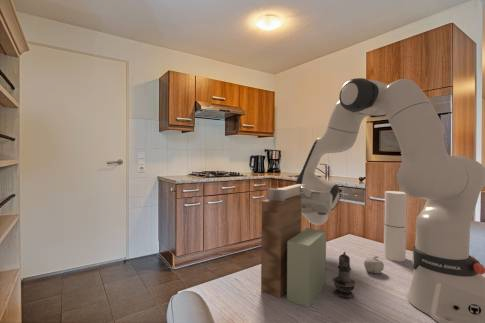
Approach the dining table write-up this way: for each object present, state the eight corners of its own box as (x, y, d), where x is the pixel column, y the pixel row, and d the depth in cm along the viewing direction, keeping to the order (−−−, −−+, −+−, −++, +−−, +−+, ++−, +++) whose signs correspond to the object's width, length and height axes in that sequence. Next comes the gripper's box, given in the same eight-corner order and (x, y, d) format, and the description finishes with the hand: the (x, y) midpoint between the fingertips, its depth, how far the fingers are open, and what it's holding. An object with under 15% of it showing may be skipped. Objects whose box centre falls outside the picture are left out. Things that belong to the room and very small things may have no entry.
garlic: (378, 268, 90) (378, 253, 90) (386, 275, 84) (387, 260, 84) (360, 268, 90) (361, 253, 90) (367, 275, 85) (368, 259, 85)
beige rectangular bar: (308, 192, 90) (308, 183, 90) (283, 201, 73) (283, 189, 73) (295, 191, 93) (295, 182, 93) (268, 199, 76) (268, 188, 76)
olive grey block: (325, 283, 79) (326, 231, 79) (308, 307, 67) (309, 245, 66) (306, 278, 83) (307, 228, 82) (286, 300, 70) (287, 241, 70)
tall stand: (300, 276, 84) (301, 195, 83) (280, 297, 71) (280, 203, 71) (283, 271, 87) (284, 194, 86) (261, 291, 75) (261, 200, 74)
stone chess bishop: (351, 289, 76) (352, 248, 76) (358, 300, 70) (359, 256, 70) (330, 287, 77) (331, 247, 76) (335, 298, 71) (336, 255, 70)
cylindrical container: (379, 255, 102) (380, 191, 101) (393, 253, 104) (394, 190, 103) (395, 262, 95) (396, 194, 94) (410, 260, 97) (411, 193, 96)
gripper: (284, 193, 104) (270, 178, 94) (337, 198, 93) (327, 181, 83) (280, 208, 102) (266, 194, 91) (334, 215, 90) (324, 200, 80)
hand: (295, 188), depth 87 cm, fingers closed on beige rectangular bar, 3 cm apart
